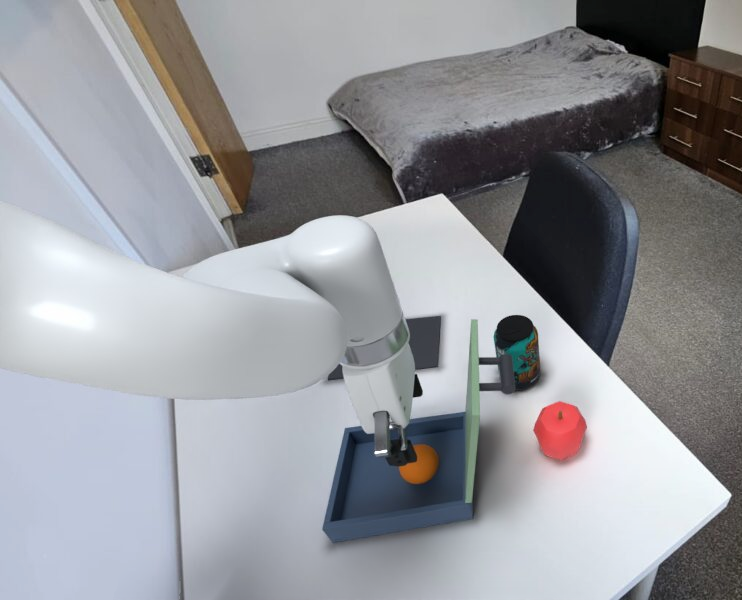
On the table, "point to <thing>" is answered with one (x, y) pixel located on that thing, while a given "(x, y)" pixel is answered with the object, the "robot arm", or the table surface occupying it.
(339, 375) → the mat
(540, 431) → the apple
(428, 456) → the clementine
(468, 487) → the lid
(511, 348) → the beverage can
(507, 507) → the table surface
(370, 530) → the blue shallow tray
